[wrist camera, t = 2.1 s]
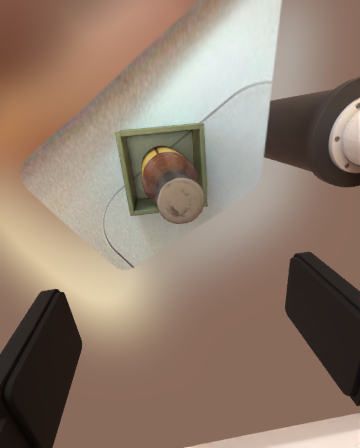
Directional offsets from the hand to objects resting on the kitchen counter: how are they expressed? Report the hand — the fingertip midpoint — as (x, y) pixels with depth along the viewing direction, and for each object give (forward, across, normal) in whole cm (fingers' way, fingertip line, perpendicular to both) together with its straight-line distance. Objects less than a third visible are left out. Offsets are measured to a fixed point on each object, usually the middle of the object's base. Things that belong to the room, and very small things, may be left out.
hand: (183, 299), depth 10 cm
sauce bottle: (+31, -1, 0) cm, 31 cm away
